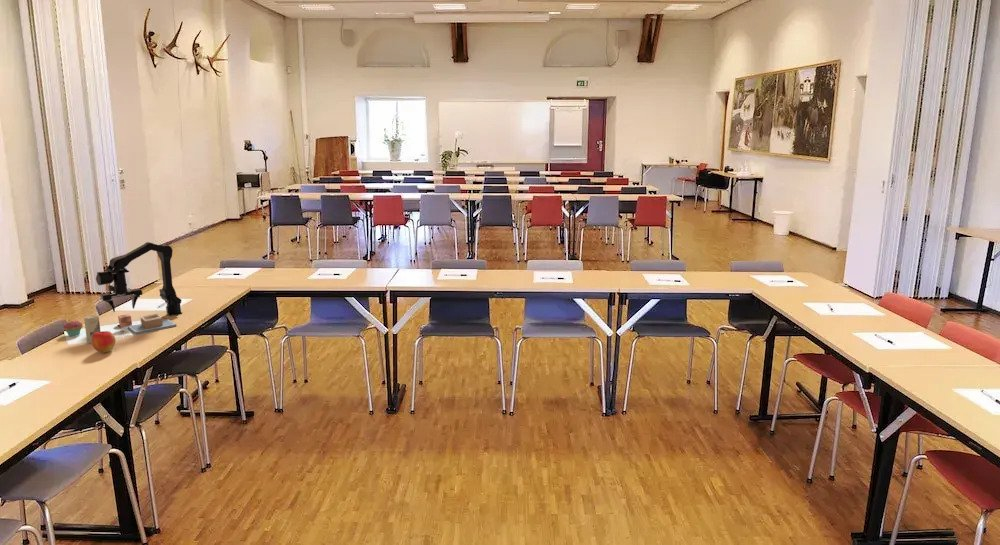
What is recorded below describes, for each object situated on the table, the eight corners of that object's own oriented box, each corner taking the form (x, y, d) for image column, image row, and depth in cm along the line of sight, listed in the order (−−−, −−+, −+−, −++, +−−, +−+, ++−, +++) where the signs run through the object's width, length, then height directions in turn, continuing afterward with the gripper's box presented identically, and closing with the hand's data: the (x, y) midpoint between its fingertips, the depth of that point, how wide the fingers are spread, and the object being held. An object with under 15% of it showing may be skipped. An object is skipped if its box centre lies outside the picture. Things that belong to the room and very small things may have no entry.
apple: (105, 355, 307) (102, 335, 304) (88, 354, 308) (85, 334, 306) (121, 349, 316) (118, 329, 314) (104, 347, 318) (101, 327, 315)
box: (91, 344, 323) (87, 318, 320) (86, 342, 325) (83, 317, 323) (102, 341, 327) (99, 316, 325) (97, 339, 330) (94, 314, 327)
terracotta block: (129, 322, 358) (128, 314, 356) (132, 324, 354) (130, 315, 353) (119, 324, 354) (117, 315, 353) (121, 326, 351) (120, 317, 350)
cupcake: (74, 338, 332) (70, 315, 330) (60, 336, 334) (56, 314, 331) (87, 332, 341) (84, 310, 338) (73, 331, 342) (70, 309, 340)
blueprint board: (168, 320, 361) (166, 310, 360) (176, 326, 351) (175, 315, 350) (127, 328, 348) (126, 317, 346) (135, 334, 338) (133, 323, 336)
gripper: (134, 276, 361) (138, 303, 364) (96, 282, 348) (100, 310, 352) (140, 279, 353) (144, 307, 356) (101, 285, 340) (105, 314, 344)
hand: (123, 310), depth 352 cm, fingers open, 9 cm apart
